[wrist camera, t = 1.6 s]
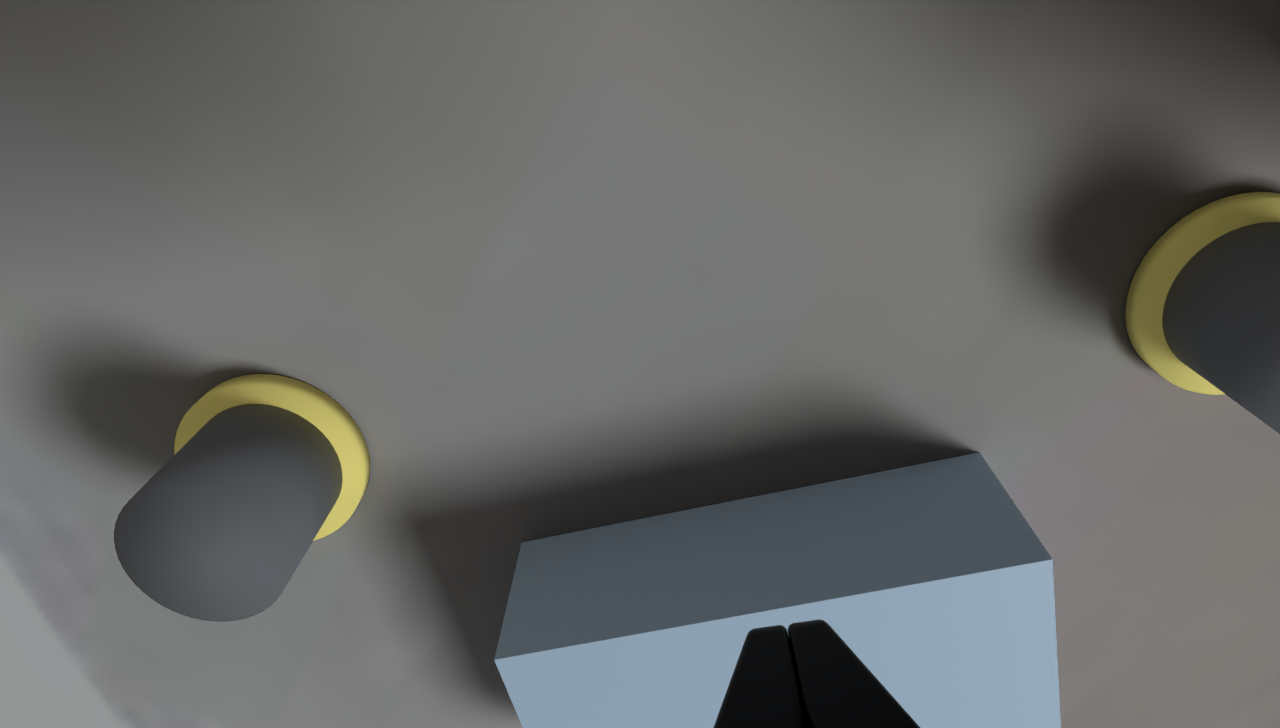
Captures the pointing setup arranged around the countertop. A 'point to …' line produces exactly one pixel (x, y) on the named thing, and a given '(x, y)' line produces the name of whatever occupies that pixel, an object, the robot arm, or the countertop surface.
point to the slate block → (792, 603)
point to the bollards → (340, 465)
